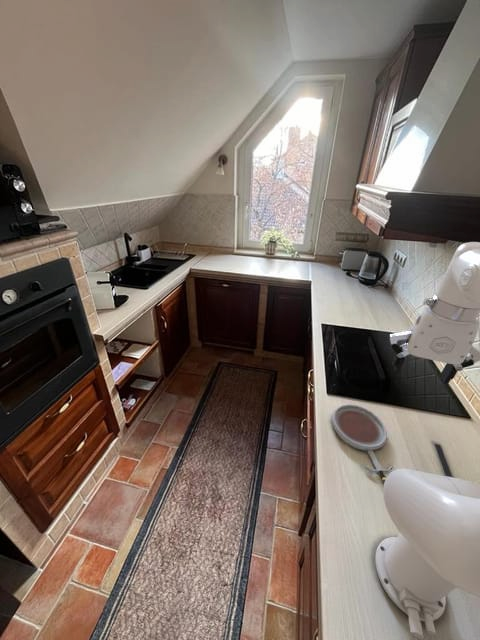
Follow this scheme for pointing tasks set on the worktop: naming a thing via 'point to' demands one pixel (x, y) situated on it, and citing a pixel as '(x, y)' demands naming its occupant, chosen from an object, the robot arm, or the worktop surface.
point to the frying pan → (361, 431)
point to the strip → (443, 460)
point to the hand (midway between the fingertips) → (419, 373)
